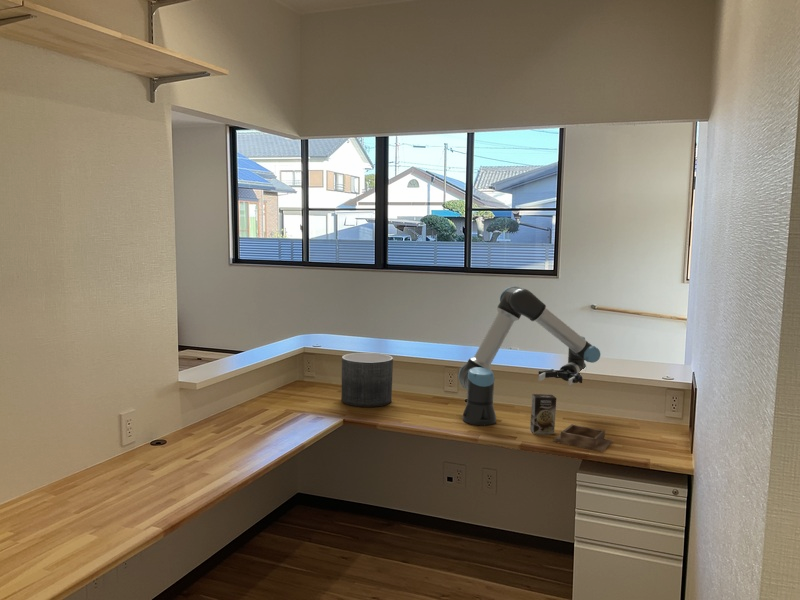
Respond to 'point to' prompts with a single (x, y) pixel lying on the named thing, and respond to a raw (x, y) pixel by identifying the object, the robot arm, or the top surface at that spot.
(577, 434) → the stand
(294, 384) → the top surface
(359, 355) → the planter
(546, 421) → the coffee box
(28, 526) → the top surface
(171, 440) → the top surface
